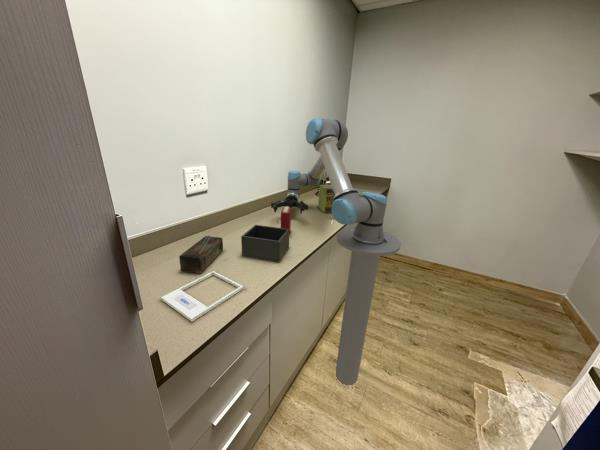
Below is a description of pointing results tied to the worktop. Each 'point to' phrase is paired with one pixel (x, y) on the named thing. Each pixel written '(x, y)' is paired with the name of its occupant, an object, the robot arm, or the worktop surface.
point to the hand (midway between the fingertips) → (287, 210)
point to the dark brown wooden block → (201, 254)
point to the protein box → (326, 198)
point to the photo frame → (192, 306)
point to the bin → (265, 243)
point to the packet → (286, 218)
